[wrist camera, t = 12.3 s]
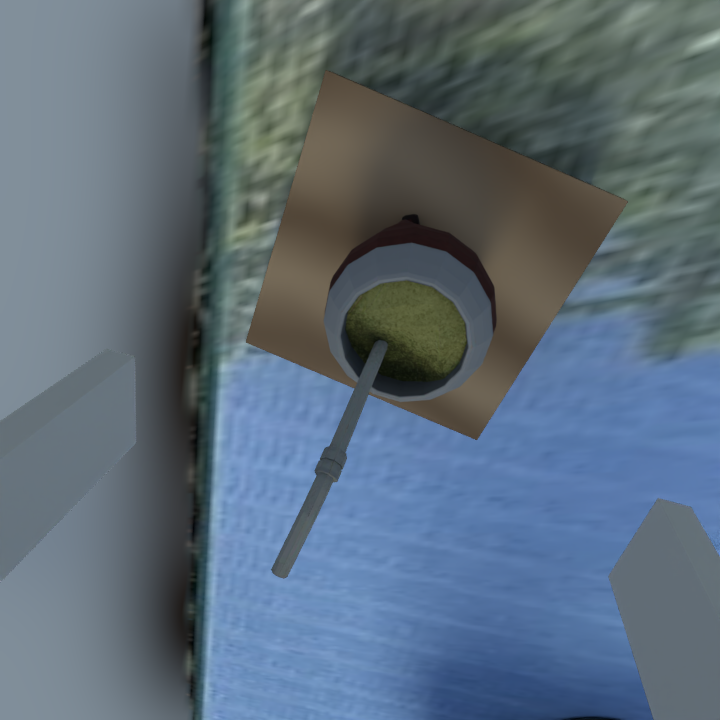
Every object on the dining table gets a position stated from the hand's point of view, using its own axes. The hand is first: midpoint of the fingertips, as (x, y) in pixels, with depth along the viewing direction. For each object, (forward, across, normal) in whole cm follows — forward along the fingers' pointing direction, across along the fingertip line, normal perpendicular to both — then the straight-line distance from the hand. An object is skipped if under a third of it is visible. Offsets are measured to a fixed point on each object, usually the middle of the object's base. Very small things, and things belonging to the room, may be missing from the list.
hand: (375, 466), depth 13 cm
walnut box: (+21, 0, 0) cm, 21 cm away
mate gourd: (+15, 0, 0) cm, 15 cm away
